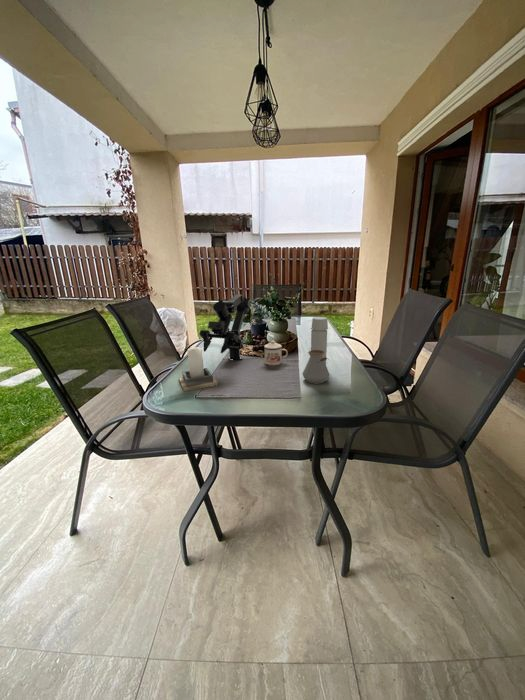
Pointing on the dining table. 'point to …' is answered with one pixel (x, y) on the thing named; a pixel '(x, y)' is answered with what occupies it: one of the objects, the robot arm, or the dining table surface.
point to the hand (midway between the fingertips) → (212, 352)
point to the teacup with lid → (273, 353)
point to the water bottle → (319, 334)
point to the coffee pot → (316, 368)
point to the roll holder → (197, 381)
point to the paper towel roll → (195, 362)
